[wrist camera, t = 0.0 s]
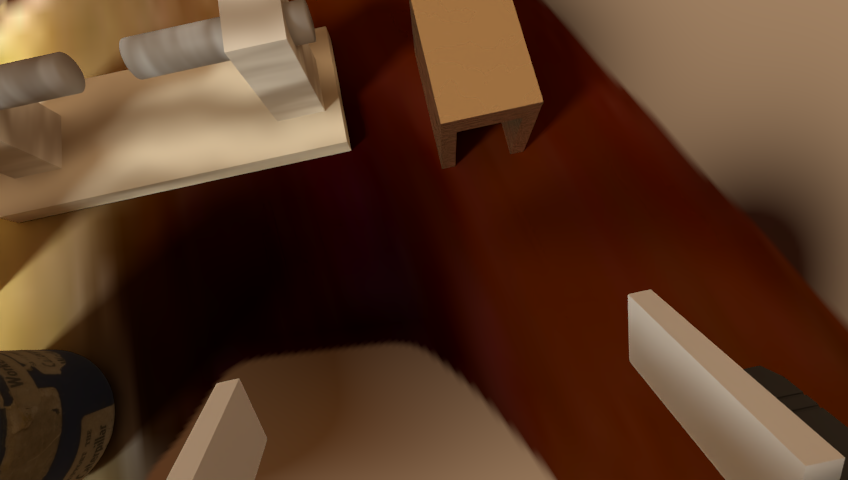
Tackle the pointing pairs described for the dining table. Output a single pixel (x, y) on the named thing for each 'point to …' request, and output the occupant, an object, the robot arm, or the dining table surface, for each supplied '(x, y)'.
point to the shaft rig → (170, 111)
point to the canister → (52, 415)
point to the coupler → (474, 70)
